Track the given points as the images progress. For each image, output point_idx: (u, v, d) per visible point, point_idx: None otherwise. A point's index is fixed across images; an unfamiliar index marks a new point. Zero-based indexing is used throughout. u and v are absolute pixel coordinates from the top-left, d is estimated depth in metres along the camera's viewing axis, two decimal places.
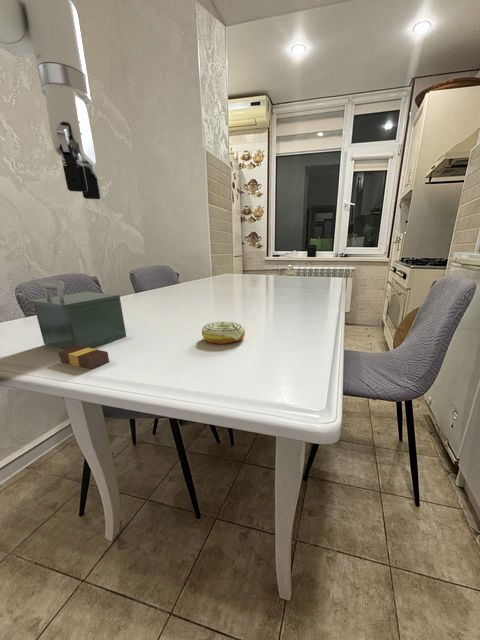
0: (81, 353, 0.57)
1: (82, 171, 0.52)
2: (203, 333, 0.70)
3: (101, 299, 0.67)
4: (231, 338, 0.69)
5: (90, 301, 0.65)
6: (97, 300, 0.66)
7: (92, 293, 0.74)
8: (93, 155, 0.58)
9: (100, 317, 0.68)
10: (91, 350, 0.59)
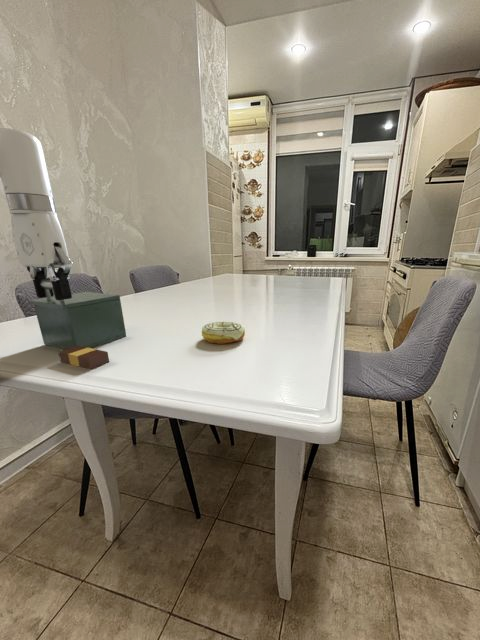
0: (81, 353, 0.57)
1: (68, 283, 0.62)
2: (203, 333, 0.70)
3: (101, 299, 0.67)
4: (231, 338, 0.69)
5: (90, 301, 0.65)
6: (97, 300, 0.66)
7: (92, 293, 0.74)
8: None
9: (100, 317, 0.68)
10: (91, 350, 0.59)
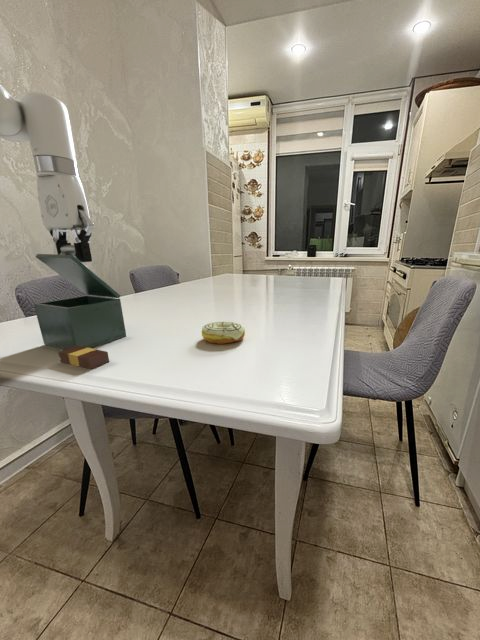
0: (81, 353, 0.57)
1: (88, 246, 0.65)
2: (203, 333, 0.70)
3: (104, 283, 0.67)
4: (231, 338, 0.69)
5: (95, 275, 0.65)
6: (101, 280, 0.66)
7: None
8: None
9: (100, 317, 0.68)
10: (91, 350, 0.59)
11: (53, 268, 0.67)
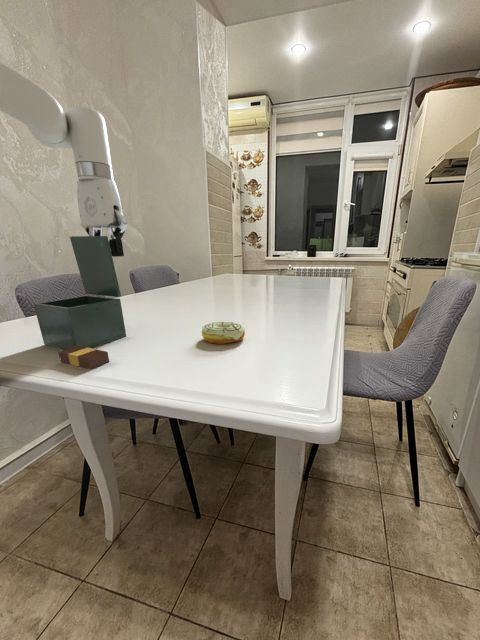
0: (81, 353, 0.57)
1: (121, 242, 0.73)
2: (203, 333, 0.70)
3: (115, 275, 0.70)
4: (231, 338, 0.69)
5: (112, 263, 0.68)
6: (114, 271, 0.69)
7: None
8: None
9: (100, 317, 0.68)
10: (91, 350, 0.59)
11: (76, 253, 0.72)
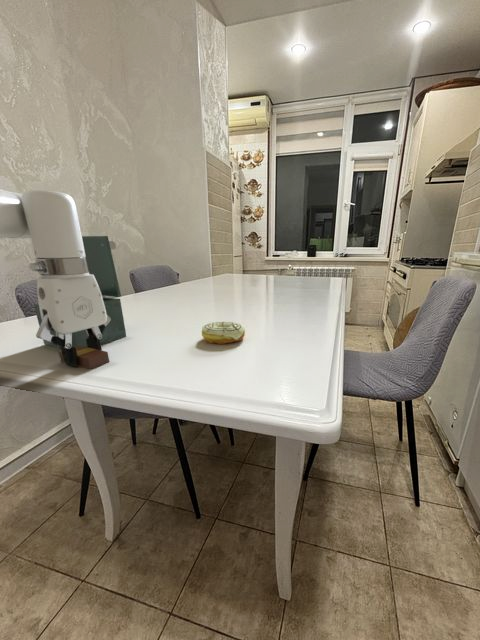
0: (81, 353, 0.57)
1: None
2: (203, 333, 0.70)
3: (115, 275, 0.70)
4: (231, 338, 0.69)
5: (112, 263, 0.69)
6: (114, 271, 0.69)
7: None
8: None
9: None
10: (91, 350, 0.59)
11: None
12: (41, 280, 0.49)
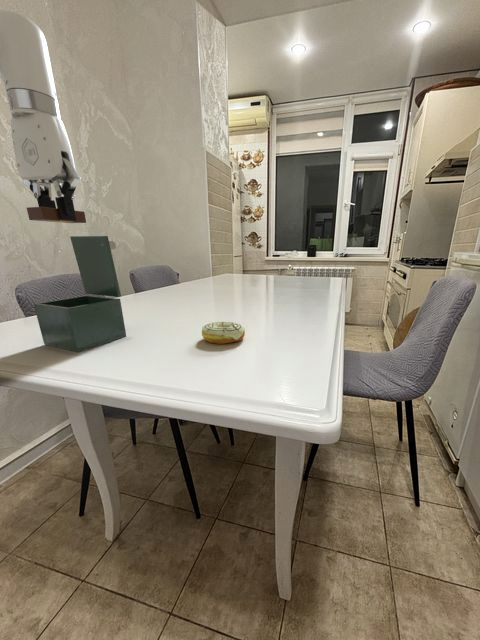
0: None
1: (72, 203, 0.58)
2: (203, 333, 0.70)
3: (115, 275, 0.70)
4: (231, 338, 0.69)
5: (112, 263, 0.69)
6: (114, 271, 0.69)
7: None
8: None
9: (100, 317, 0.68)
10: (56, 208, 0.57)
11: (76, 253, 0.72)
12: None
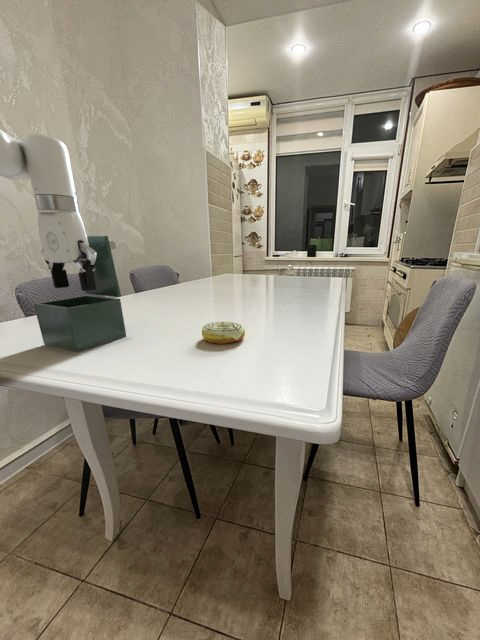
0: None
1: (93, 274, 0.66)
2: (203, 333, 0.70)
3: (115, 275, 0.70)
4: (231, 338, 0.69)
5: (112, 263, 0.69)
6: (114, 271, 0.69)
7: None
8: None
9: (100, 317, 0.68)
10: None
11: None
12: None
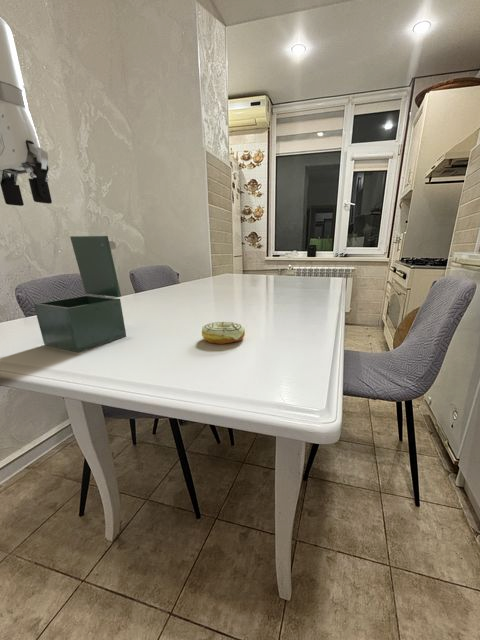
0: None
1: (47, 185, 0.58)
2: (203, 333, 0.70)
3: (115, 275, 0.70)
4: (231, 338, 0.69)
5: (112, 263, 0.69)
6: (114, 271, 0.69)
7: None
8: None
9: (100, 317, 0.68)
10: None
11: (76, 253, 0.72)
12: None
